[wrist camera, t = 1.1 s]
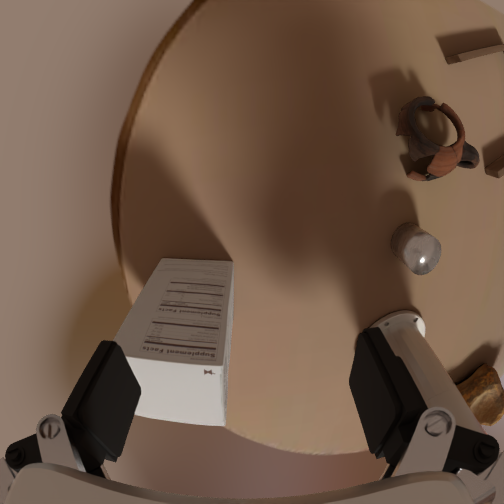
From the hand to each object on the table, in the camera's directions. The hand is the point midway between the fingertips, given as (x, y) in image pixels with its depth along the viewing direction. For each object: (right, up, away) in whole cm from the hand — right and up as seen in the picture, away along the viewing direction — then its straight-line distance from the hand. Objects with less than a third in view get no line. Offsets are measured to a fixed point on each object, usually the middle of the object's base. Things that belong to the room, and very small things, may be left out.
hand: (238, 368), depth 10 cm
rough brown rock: (+57, -29, +38) cm, 74 cm away
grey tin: (+21, +6, +23) cm, 31 cm away
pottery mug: (+22, +18, +18) cm, 33 cm away
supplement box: (-6, -1, +25) cm, 26 cm away
